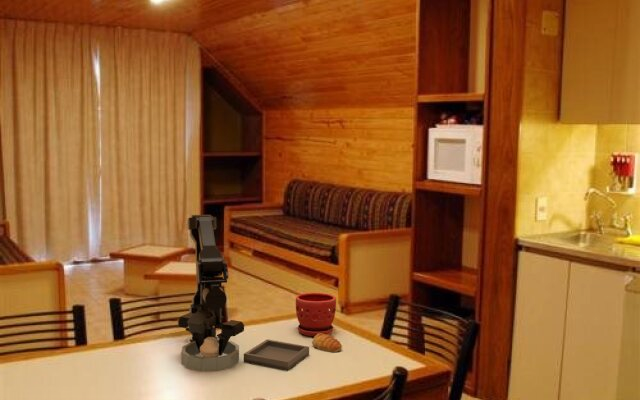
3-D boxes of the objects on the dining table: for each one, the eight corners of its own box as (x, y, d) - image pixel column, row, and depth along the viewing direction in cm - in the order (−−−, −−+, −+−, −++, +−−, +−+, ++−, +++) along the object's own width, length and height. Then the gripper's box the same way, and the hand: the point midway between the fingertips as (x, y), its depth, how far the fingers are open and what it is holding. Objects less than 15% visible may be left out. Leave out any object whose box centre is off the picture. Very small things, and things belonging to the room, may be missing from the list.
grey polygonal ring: (170, 364, 183) (170, 352, 183) (202, 347, 198) (202, 336, 197) (219, 375, 177) (219, 362, 177) (249, 356, 192) (249, 344, 191)
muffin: (216, 365, 184) (217, 341, 183) (196, 363, 185) (196, 339, 184) (224, 357, 190) (224, 334, 189) (204, 355, 191) (204, 332, 190)
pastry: (347, 350, 200) (347, 337, 199) (332, 355, 195) (332, 343, 194) (324, 342, 206) (324, 330, 205) (309, 347, 201) (309, 335, 201)
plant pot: (343, 332, 215) (344, 296, 214) (315, 341, 206) (316, 304, 204) (314, 323, 224) (315, 289, 222) (286, 331, 214) (287, 295, 213)
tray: (243, 362, 187) (243, 353, 186) (266, 347, 199) (267, 339, 199) (287, 371, 181) (288, 362, 181) (309, 354, 194) (309, 346, 193)
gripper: (165, 302, 182) (166, 357, 184) (224, 311, 174) (223, 368, 176) (189, 293, 192) (189, 345, 194) (245, 301, 184) (244, 355, 186)
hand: (210, 353), depth 187 cm, fingers open, 6 cm apart
